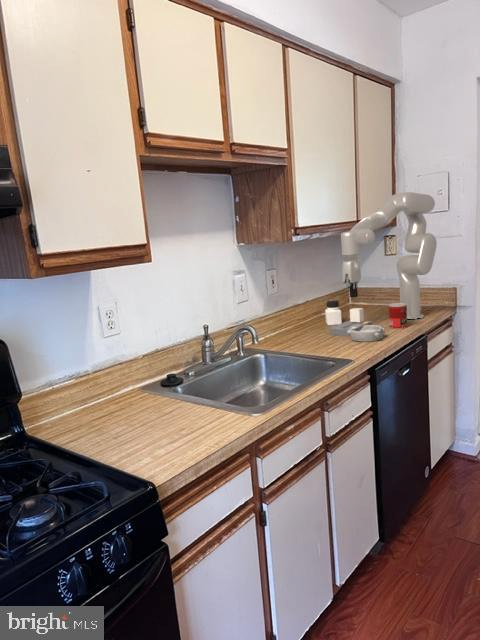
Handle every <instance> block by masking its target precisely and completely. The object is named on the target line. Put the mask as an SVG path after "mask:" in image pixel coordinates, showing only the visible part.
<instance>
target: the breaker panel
mask: <svg viewBox="0 0 480 640" xmlns="http://www.w3.org/2000/svg"><path fill="white" fill-rule="evenodd" d="M365 325H374V324H373V321H372V320H364V321H362V322H350V319H349V320H347V321H344V322H342V323H341V324H339V325H333V326H332V327H329V328H328V331H329V332H328V335H329V336H339V337H341V336H342V337H350V335H348V334H347V331H348V330H350V329H351V328H353V330H354V331H360V330H361V329H362V328H363V326H365Z"/></svg>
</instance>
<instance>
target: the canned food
mask: <svg viewBox="0 0 480 640" xmlns="http://www.w3.org/2000/svg"><path fill="white" fill-rule="evenodd" d="M388 313H389V315H388V317H389V320H388V321H389V327H390V328H391V327H393V328H392V329H395V328H401V329H403V328H402V327H406V326H407V327H408V320H407V305H406V303H400V302H391V303H389V304H388ZM407 327H406V328H407Z"/></svg>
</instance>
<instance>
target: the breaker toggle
mask: <svg viewBox="0 0 480 640" xmlns="http://www.w3.org/2000/svg"><path fill="white" fill-rule="evenodd" d="M349 320H350V322H362V321H365V319H364V308H363V307H362V308H361V307H360V308H359V307H353V308H351V309H349Z"/></svg>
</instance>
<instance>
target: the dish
mask: <svg viewBox="0 0 480 640" xmlns="http://www.w3.org/2000/svg"><path fill="white" fill-rule="evenodd" d="M385 332H386V330H385V328H384V327H382V326H380V325H376V324H373V325H365V326H363V328H362V329H361V330H360V331H354V330H353V328H351V329H350V330H348V331H347V334H348V335H350V336H349V337H350V339H351V340H352V341H355V342H377V341H380V340H382V339H383V338H384V334H385Z"/></svg>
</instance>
